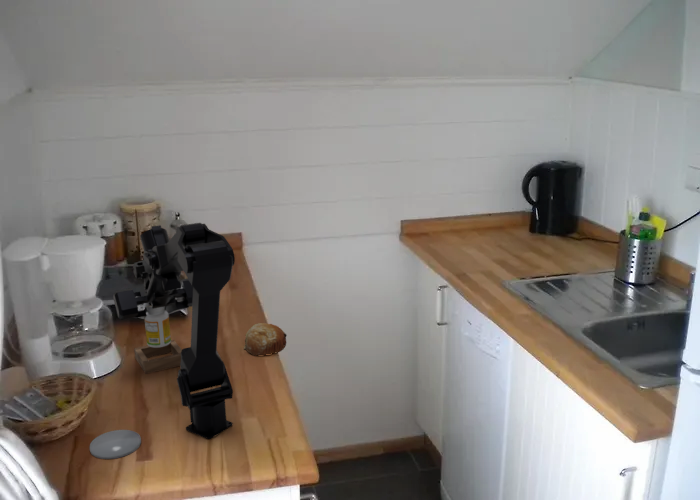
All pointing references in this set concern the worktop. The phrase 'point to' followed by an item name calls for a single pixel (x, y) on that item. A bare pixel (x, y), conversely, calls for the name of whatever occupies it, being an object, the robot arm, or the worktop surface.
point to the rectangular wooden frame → (158, 363)
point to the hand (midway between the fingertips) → (154, 314)
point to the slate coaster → (115, 444)
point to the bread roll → (265, 339)
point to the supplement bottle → (157, 327)
